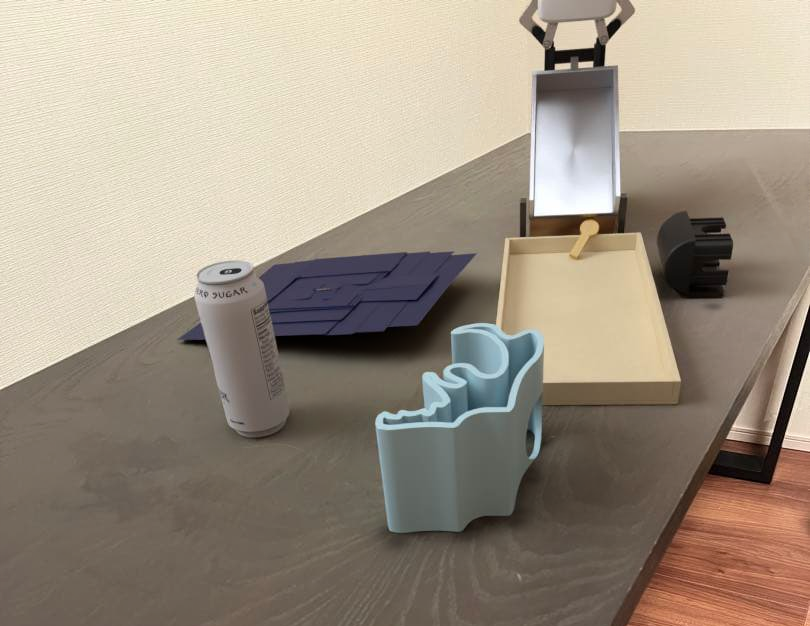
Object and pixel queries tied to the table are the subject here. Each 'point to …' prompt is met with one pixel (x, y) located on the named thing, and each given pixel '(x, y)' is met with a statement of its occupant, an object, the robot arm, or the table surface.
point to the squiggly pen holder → (465, 433)
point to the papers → (354, 292)
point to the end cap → (694, 255)
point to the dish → (574, 140)
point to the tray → (590, 319)
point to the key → (584, 237)
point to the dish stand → (571, 222)
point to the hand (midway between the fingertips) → (573, 77)
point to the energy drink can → (242, 347)
